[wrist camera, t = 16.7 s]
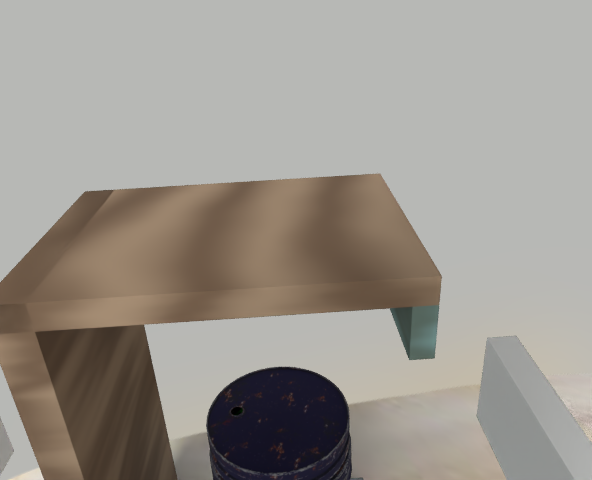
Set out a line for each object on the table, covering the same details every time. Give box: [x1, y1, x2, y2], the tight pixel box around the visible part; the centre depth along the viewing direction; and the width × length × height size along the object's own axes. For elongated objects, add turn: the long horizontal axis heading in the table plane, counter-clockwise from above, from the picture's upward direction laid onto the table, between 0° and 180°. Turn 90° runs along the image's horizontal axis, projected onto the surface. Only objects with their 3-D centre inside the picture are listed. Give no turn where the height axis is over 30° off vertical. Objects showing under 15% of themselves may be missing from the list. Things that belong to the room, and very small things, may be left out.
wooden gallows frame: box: [0, 174, 442, 480], centre depth 35 cm, size 20×14×30 cm
